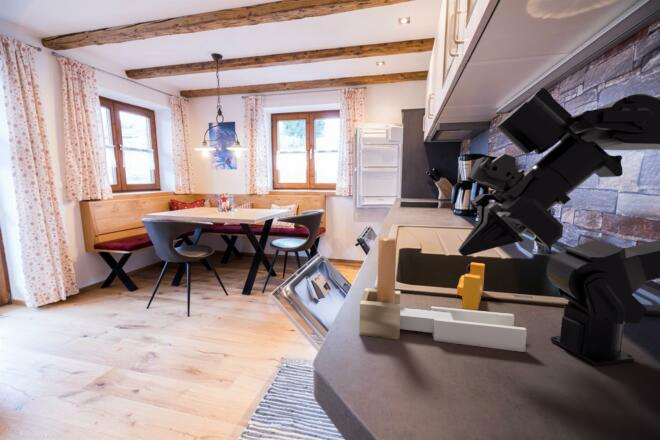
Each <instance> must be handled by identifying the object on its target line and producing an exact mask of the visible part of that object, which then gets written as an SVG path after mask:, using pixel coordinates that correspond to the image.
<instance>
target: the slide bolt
mask: <svg viewBox="0 0 660 440" xmlns="http://www.w3.org/2000/svg"><path fill="white" fill-rule="evenodd" d="M377 243H378V245H377V248H378V249H377V281H376V282H377V284H376V286H377V287H376V289H377V302H384V303H394V304H395V291H396V270H397V268H396V266H397V264H396V263H397V239H396V238H392V237H380V238H378V242H377ZM434 318H437V319H447V320H453V318H452V315H451V313H449V312H439V311H431V310H428V309H416V308H407V307H400V330H406V331H407V330H408V331H417V332H423V333H431V334H432V333H434Z"/></svg>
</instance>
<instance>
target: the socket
mask: <svg viewBox="0 0 660 440" xmlns="http://www.w3.org/2000/svg"><path fill="white" fill-rule="evenodd" d="M400 308H401V290H395V304H394V303H384V302H377V288H372V287H371V288H370V287H365V288H364V291H363V294H362V297H361V299H360V303H359V326H358V327H359V333H358V334H359V336H364V337H365V336H366V337H373V338H382V339H388V340H389V339H390V340H396V341H399V340H400V333H401V332H400V331H401V329H400Z"/></svg>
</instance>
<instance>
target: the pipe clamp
mask: <svg viewBox="0 0 660 440" xmlns="http://www.w3.org/2000/svg"><path fill="white" fill-rule="evenodd" d="M469 266H470V267H469V268H470V269H469V273H465V274H464V275H463V274H462V275H461V276H460V278H459V281H458V284H457V288H456V295H457V294H458V295H460V296H462V298H461V299H462V304H461V309H465V310H475V311H479V306H480V302H481V299H482V297H481V294H482V295H483V293H482V291H483V292H484V282H485V281H484V280H485V267H486V264H485V263H479V262H473V261H471V263H470V265H469Z"/></svg>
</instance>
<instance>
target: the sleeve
mask: <svg viewBox="0 0 660 440" xmlns="http://www.w3.org/2000/svg"><path fill="white" fill-rule="evenodd" d="M430 311H439V312H449V313H451V315H452V318H453V320H447V319H437V318H434V333H431V334H432V337H433V338H432V339H433V341H435V342H440V343H448V344H449V343H450V344H457V345H465V346H472V347H473V346H475V347H483V348H490V349H497V350H507V351H515V352H523V353H525V352H526V345H527V344H526V343H527V333H528V330H527V328H526V327H522V326H521V327H520V326H515V324H514V323H515V315H514V313H506V312H505V313H504V312H495V311H483V310H478V311H475V310H467V309H462V308H453V307H445V306H444V307H441V306H433V305H432V306H431V307H430Z"/></svg>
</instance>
